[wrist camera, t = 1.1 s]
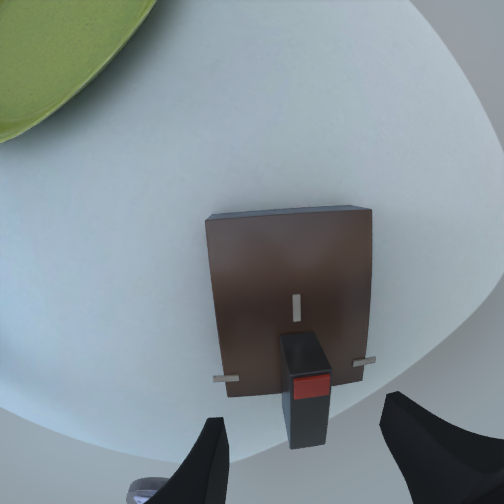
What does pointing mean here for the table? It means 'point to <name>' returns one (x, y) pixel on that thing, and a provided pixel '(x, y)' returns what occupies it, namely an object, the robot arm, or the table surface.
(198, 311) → the table surface
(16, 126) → the green plate
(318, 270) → the stand
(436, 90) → the table surface
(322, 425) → the stamp handle
